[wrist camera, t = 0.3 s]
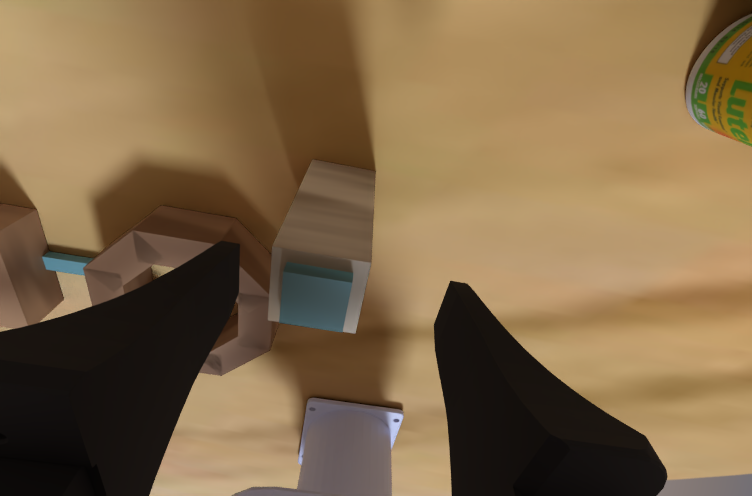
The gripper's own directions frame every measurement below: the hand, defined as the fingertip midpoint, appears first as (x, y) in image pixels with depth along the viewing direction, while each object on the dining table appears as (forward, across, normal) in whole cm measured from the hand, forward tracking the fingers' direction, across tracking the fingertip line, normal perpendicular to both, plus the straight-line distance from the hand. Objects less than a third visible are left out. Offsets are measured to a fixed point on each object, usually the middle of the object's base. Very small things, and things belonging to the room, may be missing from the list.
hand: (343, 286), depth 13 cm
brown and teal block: (+10, +1, +1) cm, 10 cm away
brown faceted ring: (+10, +9, +9) cm, 16 cm away
